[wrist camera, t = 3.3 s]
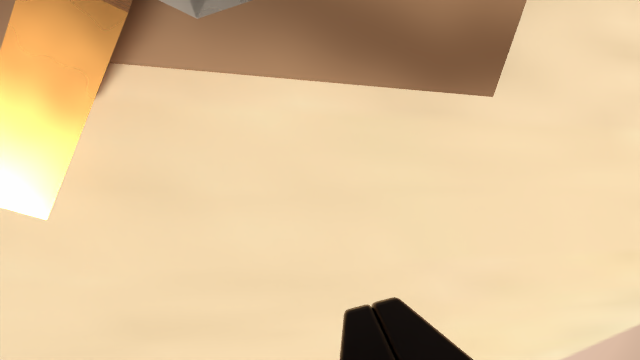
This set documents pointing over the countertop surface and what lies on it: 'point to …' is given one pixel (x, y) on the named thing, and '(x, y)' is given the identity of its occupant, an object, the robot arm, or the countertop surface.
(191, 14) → the flange plate
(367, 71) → the walnut board
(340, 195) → the countertop surface
